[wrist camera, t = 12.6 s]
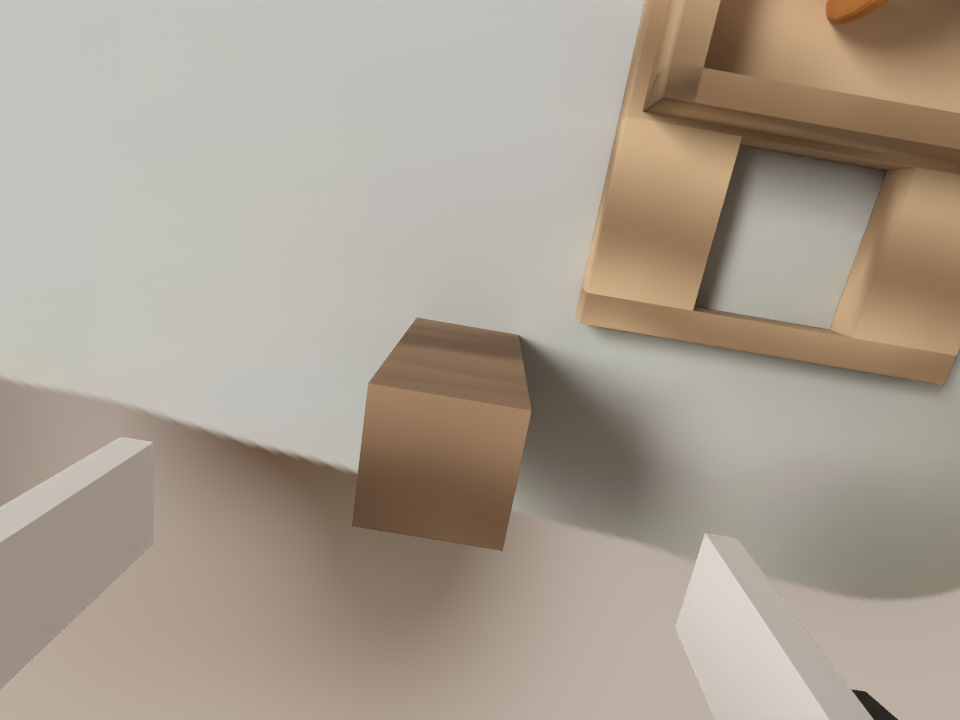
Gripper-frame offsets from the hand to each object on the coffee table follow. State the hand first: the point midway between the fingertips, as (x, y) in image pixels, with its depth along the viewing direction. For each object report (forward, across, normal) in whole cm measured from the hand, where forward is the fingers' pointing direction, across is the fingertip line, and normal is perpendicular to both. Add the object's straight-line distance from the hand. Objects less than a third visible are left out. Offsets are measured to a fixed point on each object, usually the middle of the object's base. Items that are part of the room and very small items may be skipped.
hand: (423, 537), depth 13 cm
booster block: (+12, 0, +1) cm, 12 cm away
